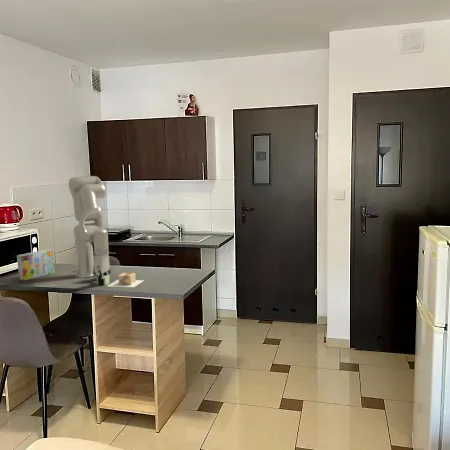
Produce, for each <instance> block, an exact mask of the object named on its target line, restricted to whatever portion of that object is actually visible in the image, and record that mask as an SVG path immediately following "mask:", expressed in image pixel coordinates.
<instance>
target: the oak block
mask: <svg viewBox="0 0 450 450" xmlns="http://www.w3.org/2000/svg"><path fill="white" fill-rule="evenodd" d="M136 276H137V275H136V273H135V272H123V273H121V274H119V275H118V280H119V285H132V284H133V283H135V282H136V280H137V279H136V278H137V277H136Z"/></svg>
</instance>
